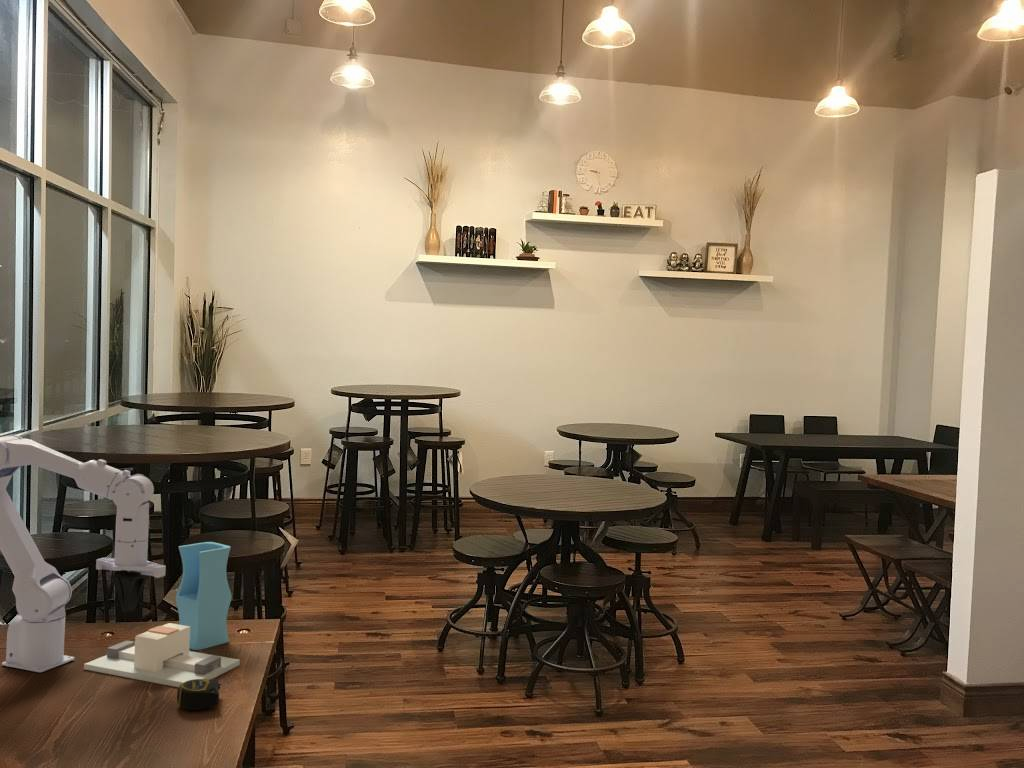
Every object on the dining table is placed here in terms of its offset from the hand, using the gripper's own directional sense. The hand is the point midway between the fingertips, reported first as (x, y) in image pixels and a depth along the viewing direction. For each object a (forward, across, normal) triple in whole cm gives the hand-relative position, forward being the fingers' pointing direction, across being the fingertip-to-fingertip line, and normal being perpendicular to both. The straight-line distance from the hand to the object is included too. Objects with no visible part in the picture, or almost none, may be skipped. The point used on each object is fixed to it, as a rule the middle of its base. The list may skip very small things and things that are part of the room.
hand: (128, 610), depth 158 cm
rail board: (+10, +7, +2) cm, 13 cm away
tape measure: (+11, +25, -10) cm, 29 cm away
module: (+9, +7, +2) cm, 12 cm away
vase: (+11, +4, +17) cm, 20 cm away
